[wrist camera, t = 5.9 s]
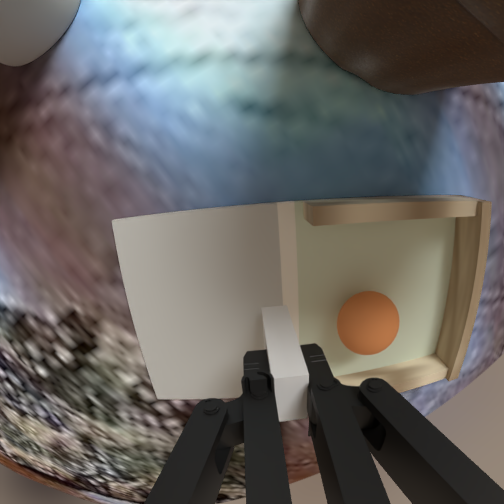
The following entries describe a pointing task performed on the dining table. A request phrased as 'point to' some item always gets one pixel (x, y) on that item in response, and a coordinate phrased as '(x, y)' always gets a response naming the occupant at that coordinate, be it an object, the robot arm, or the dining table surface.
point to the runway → (272, 287)
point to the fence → (460, 285)
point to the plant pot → (411, 41)
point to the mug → (32, 27)
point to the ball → (368, 323)
